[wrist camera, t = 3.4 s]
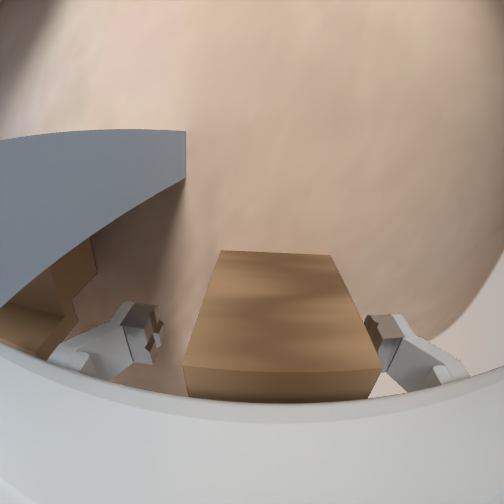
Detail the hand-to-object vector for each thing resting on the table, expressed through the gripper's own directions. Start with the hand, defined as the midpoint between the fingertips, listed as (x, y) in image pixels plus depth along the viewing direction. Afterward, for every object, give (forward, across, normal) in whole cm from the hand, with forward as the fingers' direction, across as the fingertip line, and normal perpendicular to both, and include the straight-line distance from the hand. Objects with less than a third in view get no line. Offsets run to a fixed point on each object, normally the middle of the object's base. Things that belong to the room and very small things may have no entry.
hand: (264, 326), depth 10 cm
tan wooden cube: (+3, 0, 0) cm, 3 cm away
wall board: (+3, +14, -3) cm, 14 cm away
